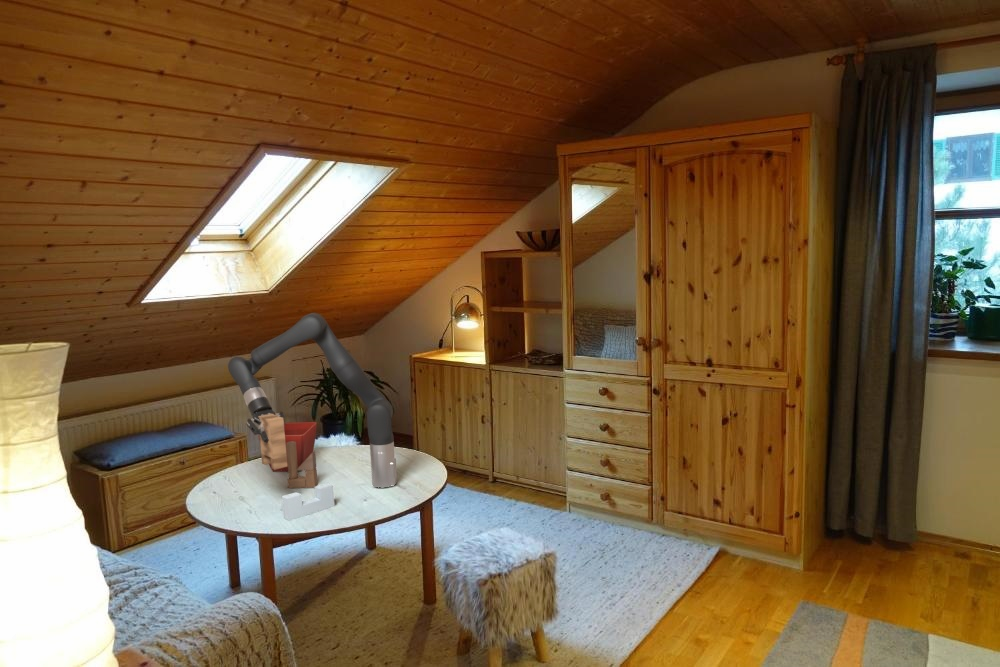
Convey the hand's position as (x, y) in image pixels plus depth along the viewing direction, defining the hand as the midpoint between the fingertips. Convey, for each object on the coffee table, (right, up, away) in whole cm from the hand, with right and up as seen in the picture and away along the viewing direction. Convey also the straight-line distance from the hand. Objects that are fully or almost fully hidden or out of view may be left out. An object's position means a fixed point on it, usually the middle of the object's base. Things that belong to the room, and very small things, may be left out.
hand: (274, 439), depth 258 cm
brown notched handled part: (+4, -22, +23) cm, 32 cm away
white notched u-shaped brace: (+13, -25, -3) cm, 29 cm away
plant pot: (-8, -19, +47) cm, 51 cm away
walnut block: (-1, -10, +3) cm, 10 cm away
